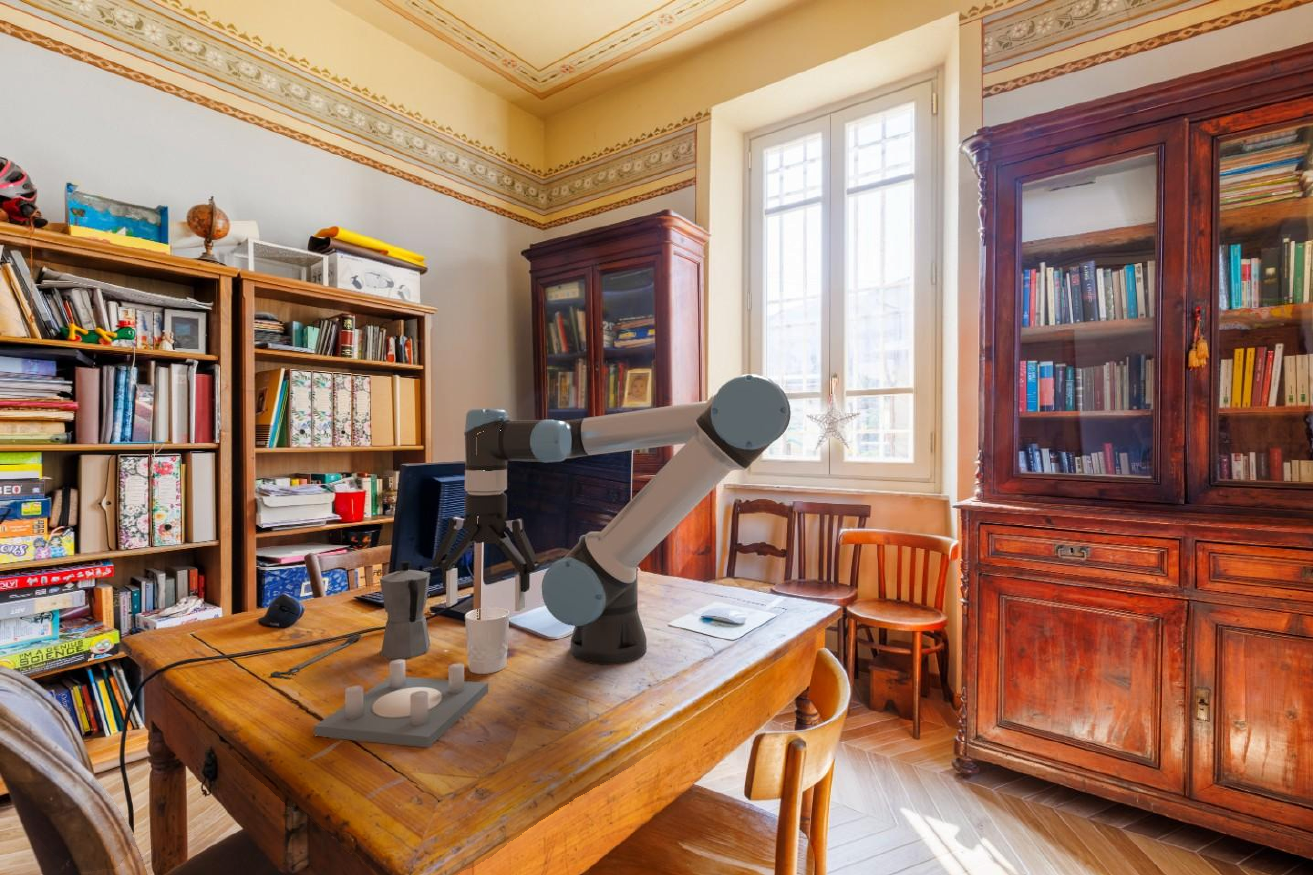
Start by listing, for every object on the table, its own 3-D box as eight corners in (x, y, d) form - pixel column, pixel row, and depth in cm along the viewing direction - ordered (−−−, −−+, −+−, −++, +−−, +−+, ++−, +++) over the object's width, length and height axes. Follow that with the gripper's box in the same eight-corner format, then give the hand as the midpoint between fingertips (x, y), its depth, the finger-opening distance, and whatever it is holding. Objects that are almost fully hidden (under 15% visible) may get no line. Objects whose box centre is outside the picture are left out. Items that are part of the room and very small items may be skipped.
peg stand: (488, 691, 100) (487, 659, 100) (428, 747, 83) (428, 707, 83) (391, 684, 104) (390, 652, 104) (314, 736, 86) (313, 698, 86)
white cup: (470, 659, 115) (470, 607, 115) (512, 658, 115) (512, 606, 115) (460, 676, 107) (460, 620, 107) (505, 674, 108) (505, 619, 108)
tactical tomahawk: (298, 686, 105) (299, 680, 105) (268, 679, 107) (268, 673, 107) (381, 643, 126) (381, 638, 126) (354, 638, 127) (354, 633, 127)
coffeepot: (375, 645, 122) (374, 558, 122) (423, 637, 128) (422, 552, 127) (388, 671, 110) (387, 572, 109) (441, 660, 115) (440, 566, 114)
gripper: (557, 492, 112) (556, 604, 113) (435, 488, 117) (434, 597, 117) (542, 496, 105) (541, 617, 105) (413, 492, 109) (412, 608, 110)
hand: (485, 606), depth 111 cm, fingers open, 13 cm apart
